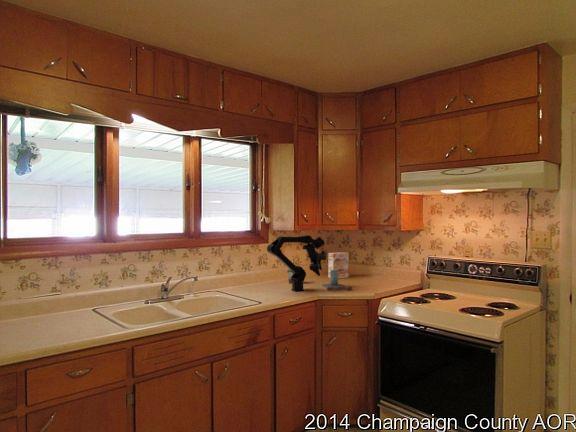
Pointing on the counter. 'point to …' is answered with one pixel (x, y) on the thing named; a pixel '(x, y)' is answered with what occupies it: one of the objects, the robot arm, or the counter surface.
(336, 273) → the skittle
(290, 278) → the food container
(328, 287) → the bar
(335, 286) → the mat
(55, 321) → the counter surface
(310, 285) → the counter surface
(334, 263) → the coffeecake box
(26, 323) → the counter surface
